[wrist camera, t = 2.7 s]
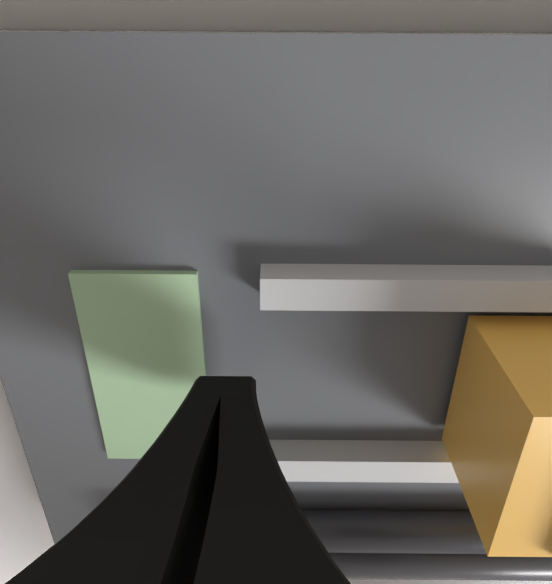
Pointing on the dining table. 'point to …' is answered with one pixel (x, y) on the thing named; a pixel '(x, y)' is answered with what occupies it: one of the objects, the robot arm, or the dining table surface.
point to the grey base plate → (272, 259)
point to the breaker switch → (505, 432)
